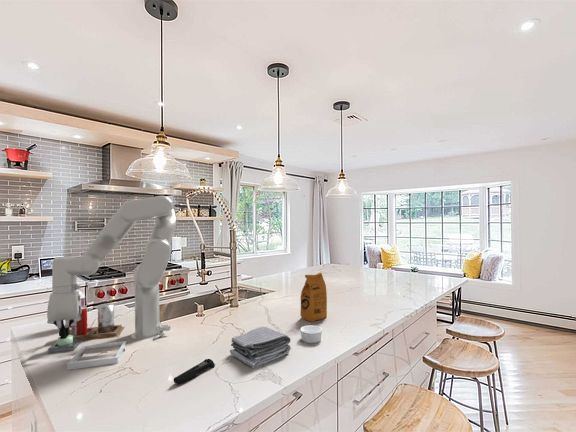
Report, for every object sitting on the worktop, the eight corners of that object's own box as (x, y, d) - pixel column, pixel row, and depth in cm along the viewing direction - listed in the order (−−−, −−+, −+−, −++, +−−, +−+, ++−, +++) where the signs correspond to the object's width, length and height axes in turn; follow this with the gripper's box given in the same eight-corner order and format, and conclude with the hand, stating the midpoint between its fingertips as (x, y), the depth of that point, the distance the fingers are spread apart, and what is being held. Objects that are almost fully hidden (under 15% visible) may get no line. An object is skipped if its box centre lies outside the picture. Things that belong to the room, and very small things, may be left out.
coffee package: (297, 317, 155) (297, 273, 155) (316, 313, 163) (316, 270, 163) (310, 323, 147) (310, 276, 147) (329, 317, 155) (329, 273, 155)
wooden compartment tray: (124, 329, 141) (124, 323, 141) (118, 339, 129) (118, 333, 129) (68, 334, 135) (68, 328, 135) (56, 346, 122) (56, 339, 122)
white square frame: (126, 346, 123) (126, 341, 123) (117, 363, 108) (117, 357, 108) (82, 351, 118) (82, 345, 118) (67, 369, 104) (67, 363, 104)
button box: (81, 345, 124) (81, 337, 124) (73, 353, 116) (73, 345, 116) (57, 348, 121) (57, 340, 121) (48, 356, 114) (48, 348, 114)
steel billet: (115, 329, 137) (115, 302, 137) (112, 334, 131) (112, 306, 131) (100, 331, 135) (100, 303, 135) (96, 336, 130) (96, 307, 130)
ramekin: (324, 336, 130) (324, 326, 131) (319, 345, 122) (319, 334, 122) (303, 334, 133) (303, 324, 133) (297, 342, 125) (297, 331, 125)
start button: (74, 344, 122) (74, 334, 122) (70, 349, 117) (70, 338, 117) (60, 346, 120) (60, 335, 120) (55, 351, 116) (55, 340, 116)
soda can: (90, 333, 133) (89, 305, 133) (82, 338, 128) (81, 309, 128) (76, 333, 133) (76, 305, 133) (68, 338, 128) (68, 309, 128)
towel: (292, 353, 115) (292, 332, 115) (251, 370, 103) (251, 346, 103) (267, 341, 126) (267, 322, 126) (227, 355, 114) (227, 333, 114)
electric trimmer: (170, 386, 94) (170, 376, 94) (207, 364, 107) (207, 355, 107) (178, 390, 92) (178, 379, 92) (216, 367, 105) (215, 357, 105)
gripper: (90, 286, 124) (89, 332, 124) (45, 288, 120) (45, 336, 120) (83, 290, 117) (83, 338, 117) (36, 292, 113) (36, 343, 113)
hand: (64, 337), depth 119 cm, fingers closed
